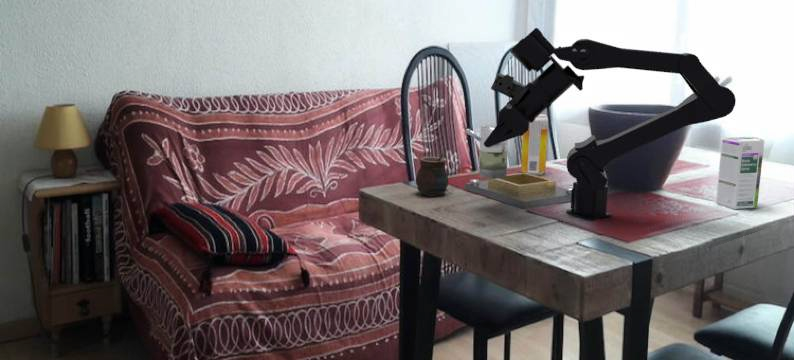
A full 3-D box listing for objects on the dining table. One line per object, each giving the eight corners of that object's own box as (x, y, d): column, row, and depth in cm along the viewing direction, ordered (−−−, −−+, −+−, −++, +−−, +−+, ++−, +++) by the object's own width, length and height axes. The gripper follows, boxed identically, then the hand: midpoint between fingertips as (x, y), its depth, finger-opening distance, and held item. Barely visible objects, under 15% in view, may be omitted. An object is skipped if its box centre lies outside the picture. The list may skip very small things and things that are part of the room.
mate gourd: (430, 188, 159) (432, 145, 156) (455, 194, 153) (457, 150, 151) (408, 193, 154) (410, 149, 151) (433, 200, 148) (435, 154, 146)
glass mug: (507, 173, 142) (509, 125, 140) (505, 179, 137) (507, 129, 135) (466, 171, 144) (467, 124, 142) (462, 177, 139) (463, 127, 137)
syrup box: (734, 210, 142) (742, 140, 139) (714, 203, 147) (721, 135, 144) (757, 208, 143) (766, 139, 140) (736, 201, 149) (744, 135, 146)
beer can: (543, 171, 179) (547, 113, 176) (546, 176, 173) (549, 116, 170) (520, 170, 179) (522, 113, 176) (521, 175, 173) (524, 116, 170)
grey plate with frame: (580, 199, 149) (581, 183, 149) (523, 208, 141) (524, 192, 140) (518, 182, 166) (519, 167, 165) (465, 189, 158) (465, 174, 157)
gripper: (520, 57, 143) (466, 109, 148) (512, 61, 125) (451, 119, 130) (557, 96, 143) (502, 147, 148) (554, 106, 125) (491, 162, 130)
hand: (486, 143), depth 139 cm, fingers closed on glass mug, 5 cm apart
